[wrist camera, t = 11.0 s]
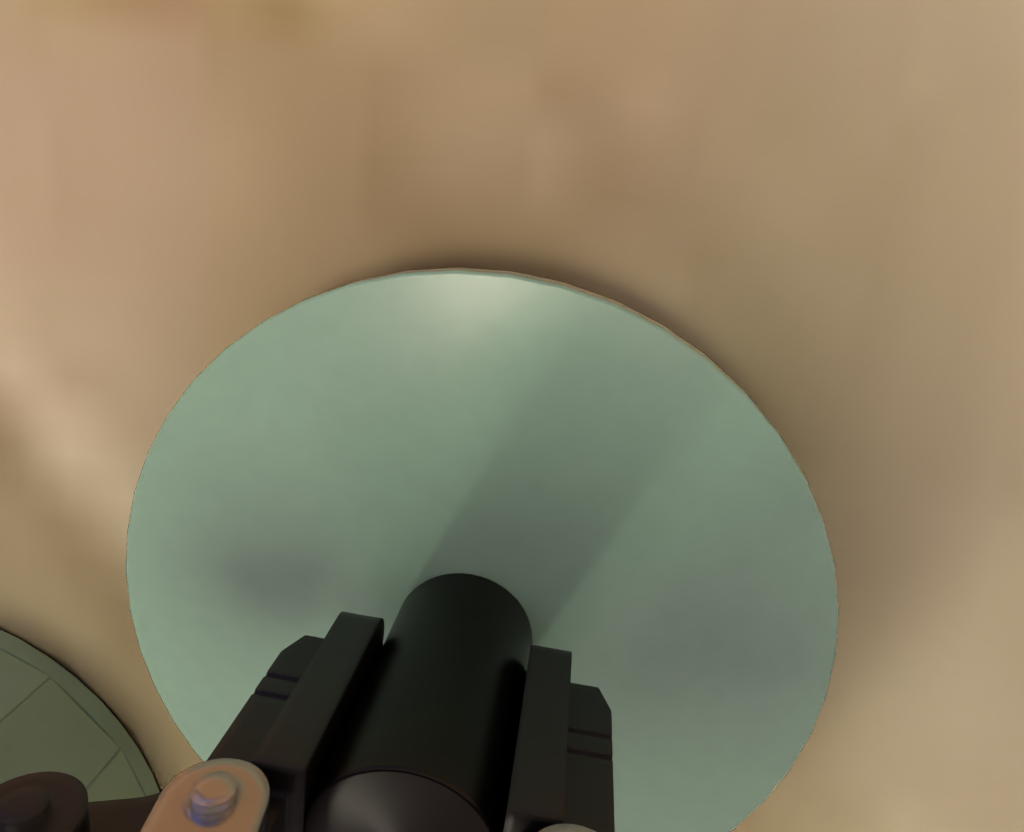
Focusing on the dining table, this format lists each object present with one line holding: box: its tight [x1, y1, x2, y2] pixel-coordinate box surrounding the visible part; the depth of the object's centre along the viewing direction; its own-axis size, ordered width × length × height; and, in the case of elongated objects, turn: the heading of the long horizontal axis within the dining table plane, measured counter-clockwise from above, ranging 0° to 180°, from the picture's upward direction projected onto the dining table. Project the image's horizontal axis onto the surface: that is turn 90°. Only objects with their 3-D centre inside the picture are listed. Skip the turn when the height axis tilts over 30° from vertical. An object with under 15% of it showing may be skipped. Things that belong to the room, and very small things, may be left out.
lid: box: [126, 267, 839, 832], centre depth 12 cm, size 14×14×6 cm
